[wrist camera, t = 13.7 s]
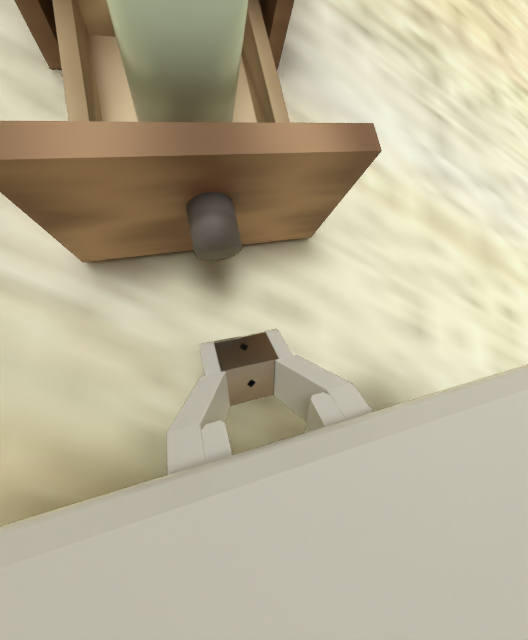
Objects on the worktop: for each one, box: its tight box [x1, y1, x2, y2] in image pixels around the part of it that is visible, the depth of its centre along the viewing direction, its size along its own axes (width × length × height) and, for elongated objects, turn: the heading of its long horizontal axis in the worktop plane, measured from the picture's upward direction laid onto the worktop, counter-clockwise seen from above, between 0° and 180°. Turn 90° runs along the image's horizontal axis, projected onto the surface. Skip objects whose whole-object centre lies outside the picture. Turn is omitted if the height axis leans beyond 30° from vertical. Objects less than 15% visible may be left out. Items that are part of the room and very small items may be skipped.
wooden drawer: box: [0, 0, 382, 262], centre depth 13 cm, size 13×16×7 cm
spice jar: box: [106, 0, 248, 122], centre depth 10 cm, size 5×5×11 cm
